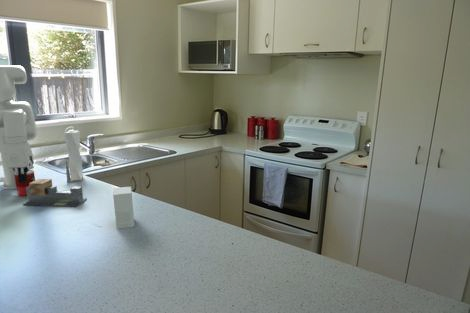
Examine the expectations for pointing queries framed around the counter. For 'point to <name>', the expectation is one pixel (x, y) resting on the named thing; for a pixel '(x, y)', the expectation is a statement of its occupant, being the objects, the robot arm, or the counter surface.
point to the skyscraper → (73, 156)
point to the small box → (123, 207)
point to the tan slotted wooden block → (39, 186)
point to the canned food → (22, 186)
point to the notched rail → (56, 197)
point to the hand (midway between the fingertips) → (23, 182)
